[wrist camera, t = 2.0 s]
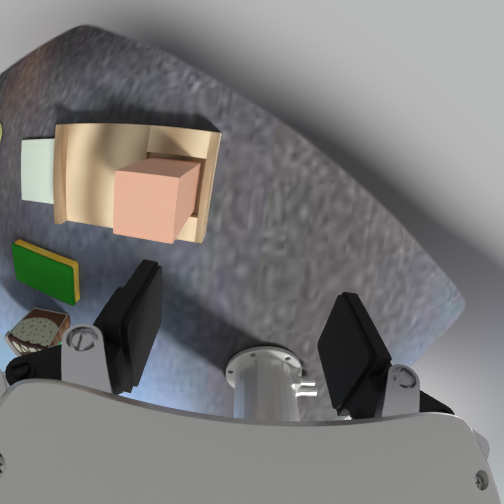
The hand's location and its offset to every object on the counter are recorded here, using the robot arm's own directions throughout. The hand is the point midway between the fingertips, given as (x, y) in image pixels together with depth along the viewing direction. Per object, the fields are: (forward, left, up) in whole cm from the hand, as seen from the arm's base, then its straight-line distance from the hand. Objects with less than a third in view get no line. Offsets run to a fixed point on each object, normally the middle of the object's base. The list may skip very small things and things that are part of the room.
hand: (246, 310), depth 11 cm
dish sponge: (+30, +17, -22) cm, 41 cm away
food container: (+31, +29, -22) cm, 48 cm away
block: (+8, 0, -15) cm, 17 cm away
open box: (+14, 0, -22) cm, 26 cm away
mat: (+29, +1, -22) cm, 36 cm away
